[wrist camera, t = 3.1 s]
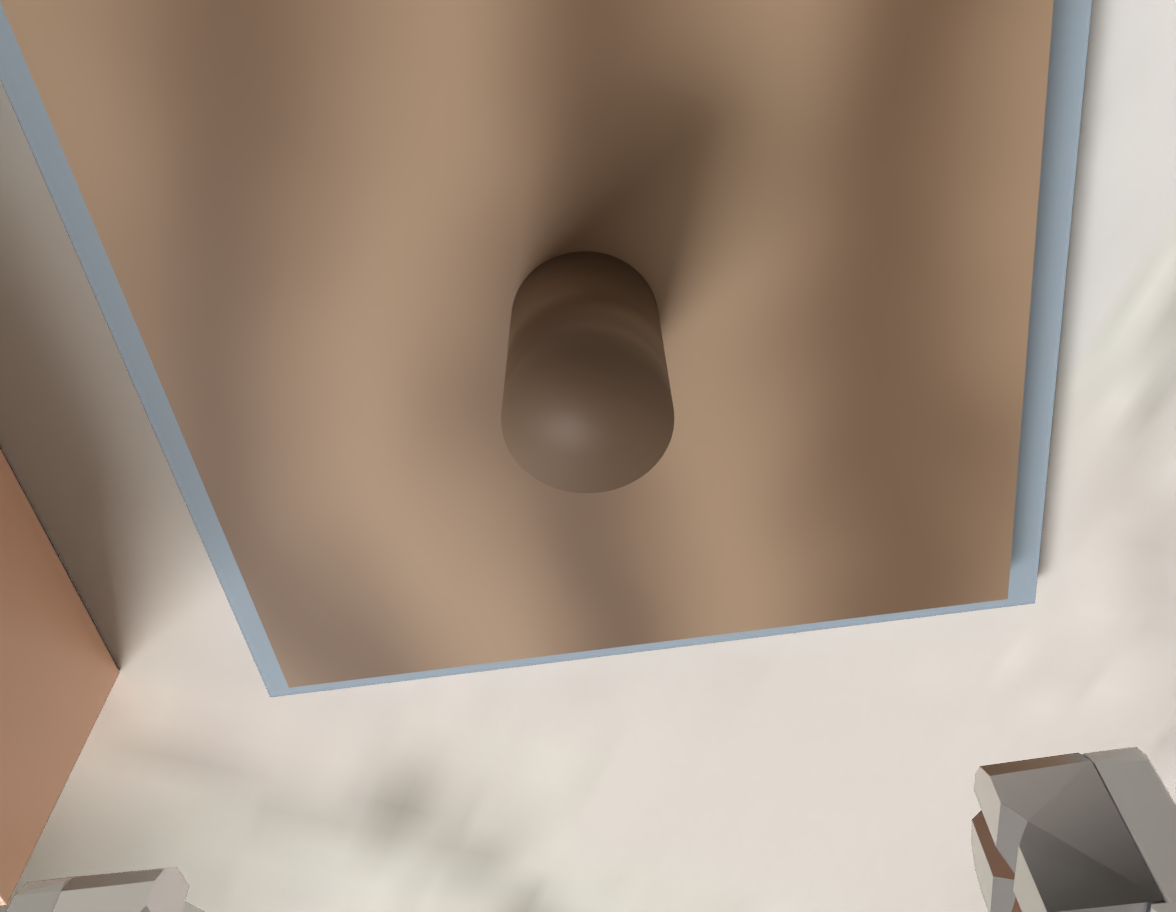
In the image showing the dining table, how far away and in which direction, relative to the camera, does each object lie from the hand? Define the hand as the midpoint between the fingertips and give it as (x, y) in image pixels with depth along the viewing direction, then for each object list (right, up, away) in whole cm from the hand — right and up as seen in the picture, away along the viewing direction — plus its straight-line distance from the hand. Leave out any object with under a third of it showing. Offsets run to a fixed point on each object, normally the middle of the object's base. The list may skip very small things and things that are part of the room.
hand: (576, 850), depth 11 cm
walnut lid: (0, +7, +12) cm, 14 cm away
